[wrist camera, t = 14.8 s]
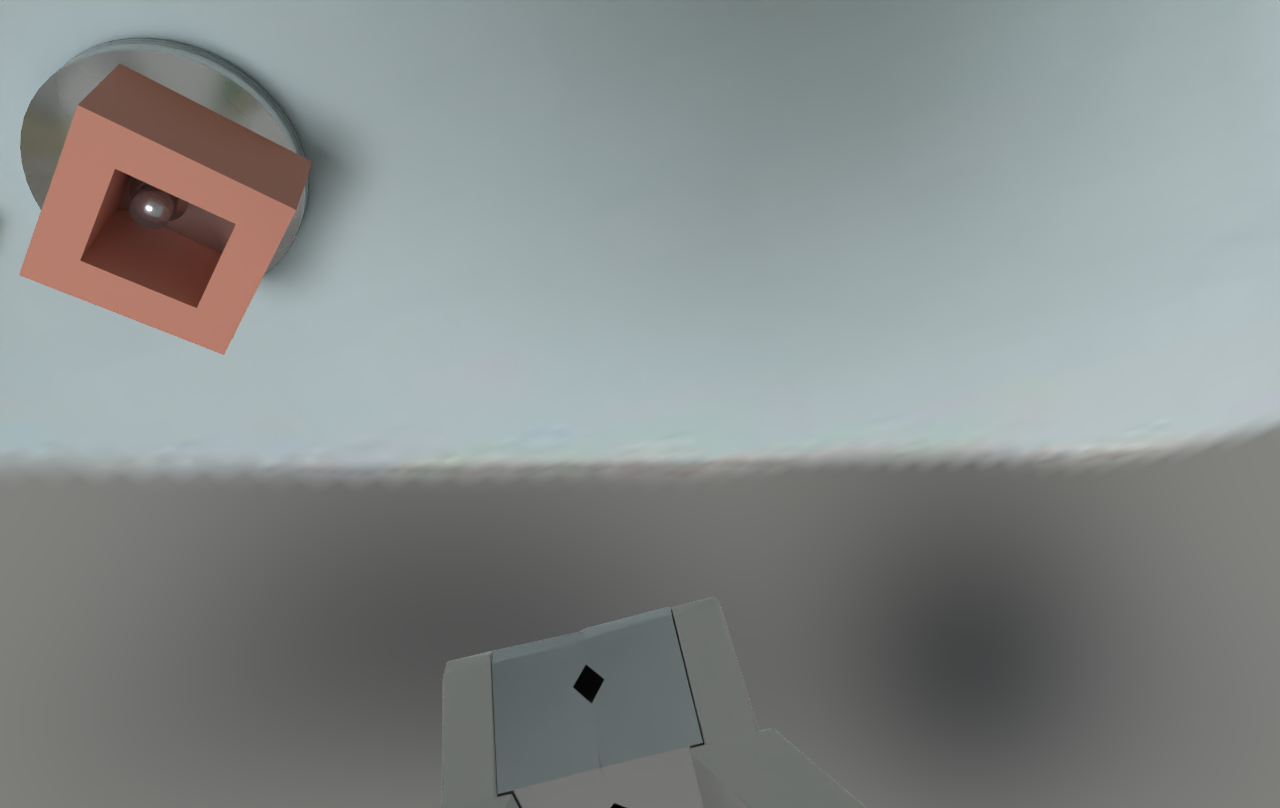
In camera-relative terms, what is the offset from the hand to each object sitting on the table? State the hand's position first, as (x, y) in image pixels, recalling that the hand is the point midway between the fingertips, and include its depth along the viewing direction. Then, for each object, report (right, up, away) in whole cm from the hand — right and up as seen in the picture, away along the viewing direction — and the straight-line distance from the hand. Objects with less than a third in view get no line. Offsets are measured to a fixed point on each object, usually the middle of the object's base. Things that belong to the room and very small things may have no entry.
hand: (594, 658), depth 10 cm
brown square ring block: (-16, +10, +22) cm, 29 cm away
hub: (-16, +12, +22) cm, 30 cm away
